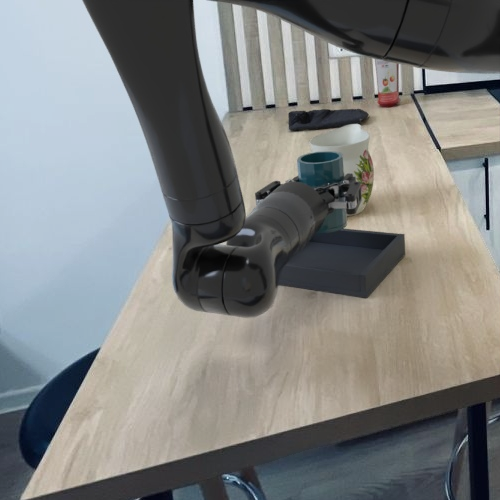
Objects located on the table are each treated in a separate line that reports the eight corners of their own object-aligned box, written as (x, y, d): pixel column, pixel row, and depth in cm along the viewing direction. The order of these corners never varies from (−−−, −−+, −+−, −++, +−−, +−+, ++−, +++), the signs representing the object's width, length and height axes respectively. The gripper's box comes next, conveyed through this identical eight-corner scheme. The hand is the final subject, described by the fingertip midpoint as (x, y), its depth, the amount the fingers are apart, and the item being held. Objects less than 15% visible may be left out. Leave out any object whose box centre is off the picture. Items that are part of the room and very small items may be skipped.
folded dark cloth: (364, 128, 174) (363, 110, 173) (284, 132, 181) (282, 115, 179) (371, 115, 188) (370, 98, 186) (296, 120, 195) (295, 104, 193)
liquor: (403, 102, 199) (400, 4, 188) (398, 107, 193) (394, 6, 182) (379, 103, 202) (375, 7, 191) (373, 108, 196) (368, 9, 185)
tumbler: (354, 219, 94) (350, 151, 91) (335, 235, 90) (330, 164, 86) (315, 216, 98) (310, 150, 94) (295, 231, 93) (289, 162, 89)
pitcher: (293, 228, 113) (285, 150, 107) (333, 194, 127) (327, 124, 122) (354, 233, 107) (348, 151, 102) (388, 196, 122) (384, 123, 116)
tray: (405, 254, 97) (404, 234, 96) (366, 298, 86) (365, 275, 85) (300, 242, 106) (298, 224, 105) (253, 281, 95) (250, 260, 94)
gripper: (340, 193, 75) (375, 153, 89) (227, 191, 81) (277, 154, 95) (344, 253, 78) (378, 206, 92) (235, 247, 84) (282, 203, 98)
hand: (327, 180), depth 93 cm, fingers closed on tumbler, 6 cm apart
